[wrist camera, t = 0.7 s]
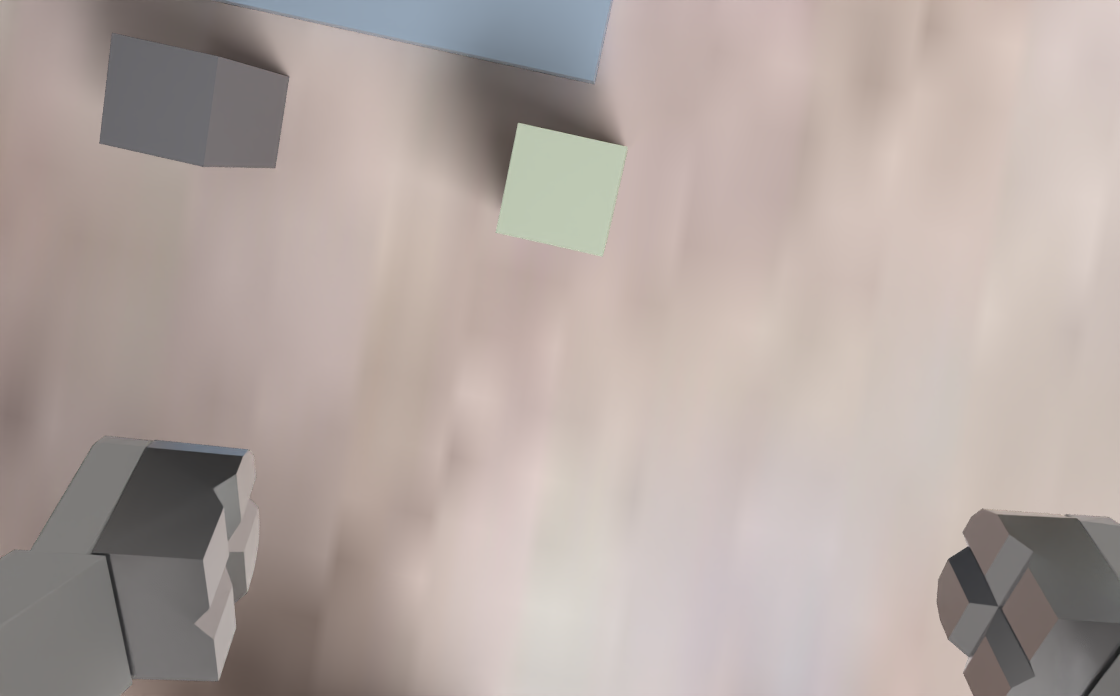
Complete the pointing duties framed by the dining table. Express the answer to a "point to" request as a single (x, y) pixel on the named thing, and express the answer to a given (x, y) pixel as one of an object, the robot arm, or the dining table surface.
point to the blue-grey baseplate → (472, 28)
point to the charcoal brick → (191, 106)
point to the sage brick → (561, 189)
